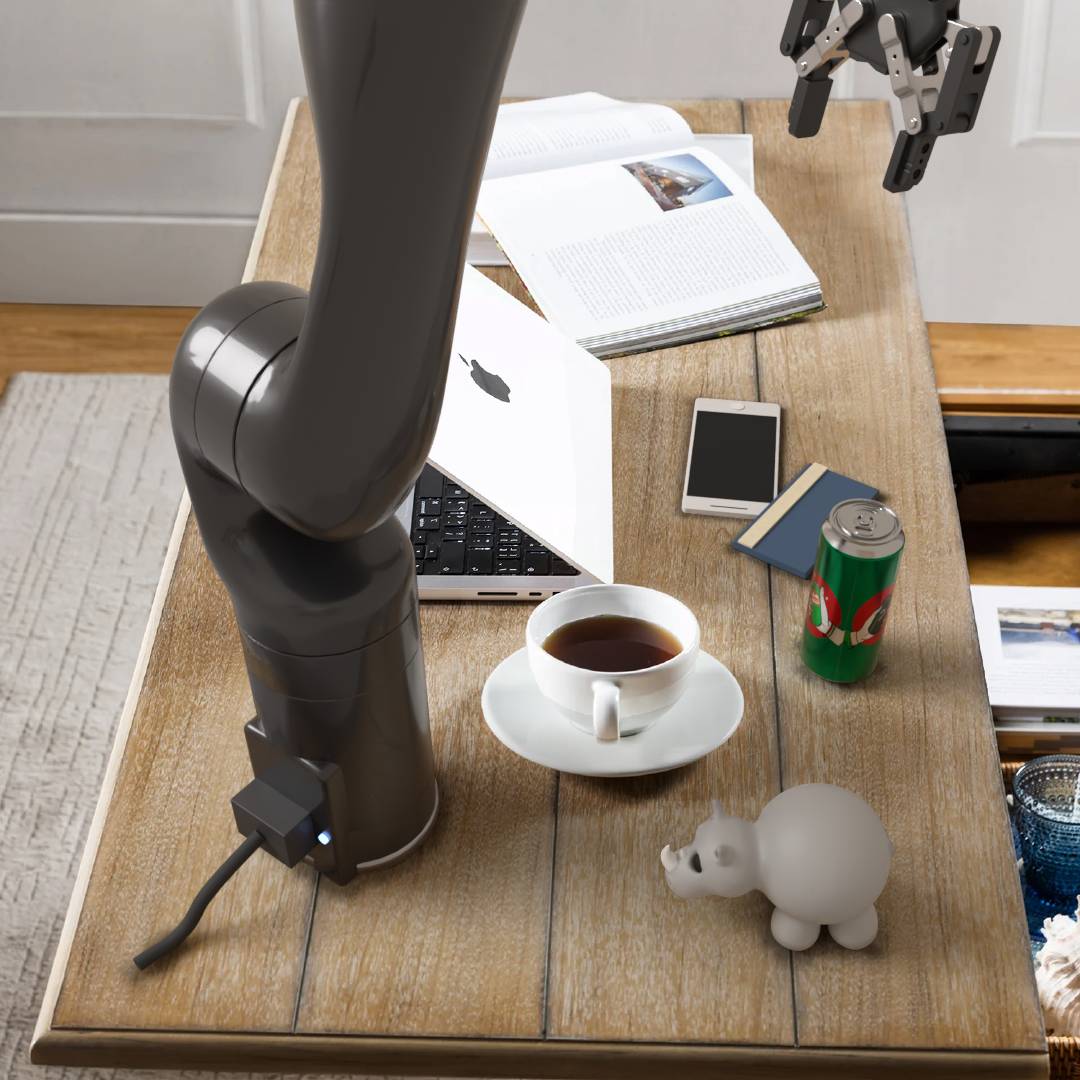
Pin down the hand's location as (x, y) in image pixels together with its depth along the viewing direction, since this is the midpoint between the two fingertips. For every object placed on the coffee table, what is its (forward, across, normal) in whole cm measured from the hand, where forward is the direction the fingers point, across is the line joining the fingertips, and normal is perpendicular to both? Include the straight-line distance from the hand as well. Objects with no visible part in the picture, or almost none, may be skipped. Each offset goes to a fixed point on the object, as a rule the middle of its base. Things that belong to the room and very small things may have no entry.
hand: (848, 162), depth 81 cm
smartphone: (+28, -5, +4) cm, 29 cm away
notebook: (+27, +4, +3) cm, 27 cm away
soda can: (+27, +16, -6) cm, 32 cm away
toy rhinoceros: (+29, +28, -22) cm, 46 cm away
